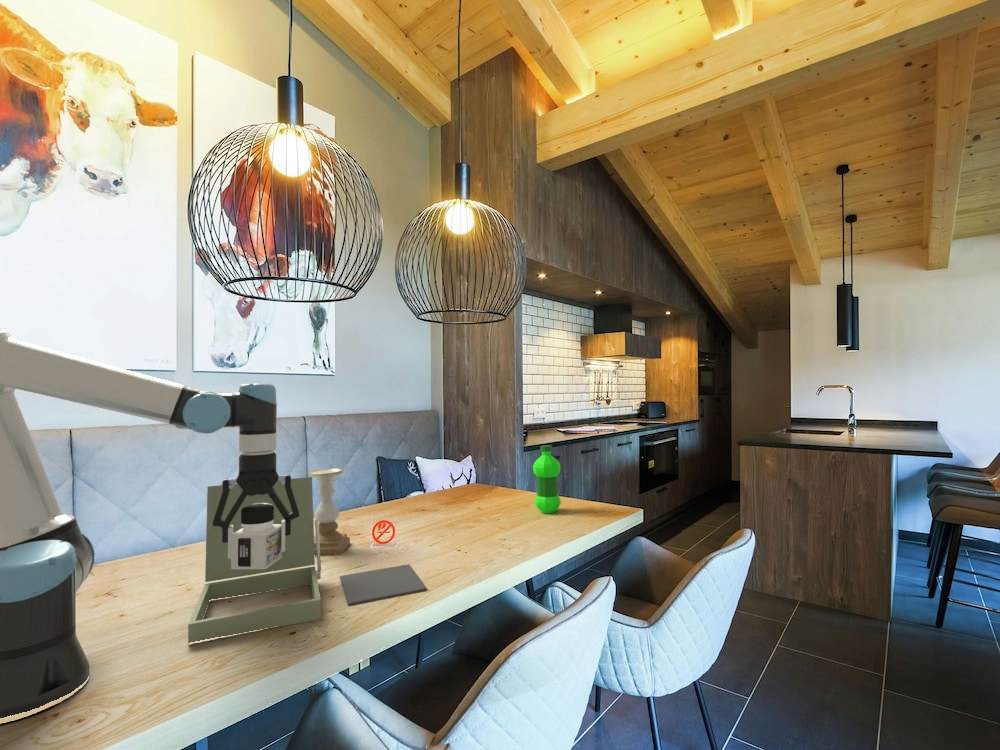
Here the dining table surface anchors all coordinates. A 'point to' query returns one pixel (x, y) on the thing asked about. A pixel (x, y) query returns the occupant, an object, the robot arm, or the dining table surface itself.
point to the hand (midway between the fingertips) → (257, 553)
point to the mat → (381, 584)
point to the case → (259, 617)
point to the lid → (302, 527)
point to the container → (256, 538)
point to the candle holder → (328, 514)
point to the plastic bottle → (547, 481)
